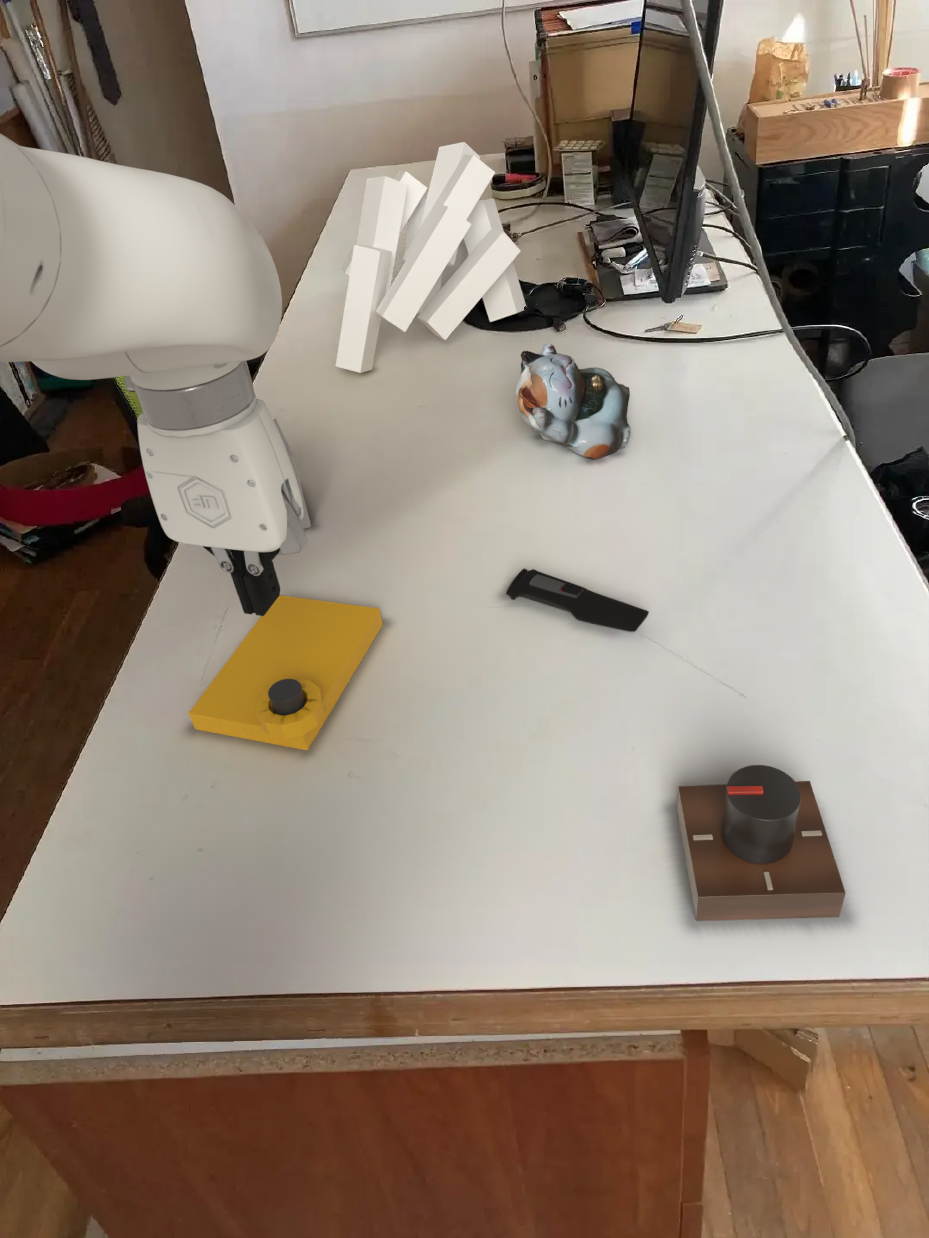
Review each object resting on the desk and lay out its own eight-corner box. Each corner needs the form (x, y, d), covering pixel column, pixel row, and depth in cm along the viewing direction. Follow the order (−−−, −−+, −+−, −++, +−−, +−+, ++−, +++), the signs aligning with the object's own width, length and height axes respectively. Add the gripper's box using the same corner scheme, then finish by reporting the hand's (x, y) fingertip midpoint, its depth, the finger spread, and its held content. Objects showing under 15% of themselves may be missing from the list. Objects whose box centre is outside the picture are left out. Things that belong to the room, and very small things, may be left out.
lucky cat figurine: (627, 465, 115) (574, 387, 106) (545, 488, 122) (487, 417, 113) (640, 380, 123) (591, 301, 114) (562, 406, 130) (510, 334, 121)
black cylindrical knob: (296, 718, 82) (291, 704, 81) (266, 713, 83) (261, 699, 82) (311, 695, 84) (306, 681, 83) (282, 690, 85) (277, 676, 84)
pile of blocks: (462, 428, 139) (553, 186, 123) (281, 349, 140) (347, 99, 124) (504, 385, 170) (581, 187, 153) (355, 321, 171) (416, 118, 155)
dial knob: (785, 808, 70) (793, 761, 66) (798, 864, 66) (808, 817, 63) (717, 808, 70) (722, 761, 67) (726, 864, 67) (731, 817, 63)
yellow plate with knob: (312, 760, 83) (302, 729, 80) (189, 736, 87) (176, 706, 84) (391, 625, 96) (385, 595, 94) (281, 610, 100) (273, 581, 98)
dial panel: (839, 917, 66) (846, 891, 64) (695, 921, 67) (698, 895, 65) (805, 805, 73) (810, 779, 71) (676, 810, 74) (678, 784, 72)
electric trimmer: (636, 648, 90) (637, 623, 88) (504, 599, 98) (502, 575, 96) (654, 626, 92) (655, 601, 90) (523, 580, 100) (522, 556, 98)
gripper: (72, 412, 62) (158, 622, 74) (267, 424, 58) (327, 646, 69) (136, 364, 68) (207, 567, 79) (319, 372, 63) (366, 586, 75)
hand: (262, 604), depth 74 cm, fingers closed
